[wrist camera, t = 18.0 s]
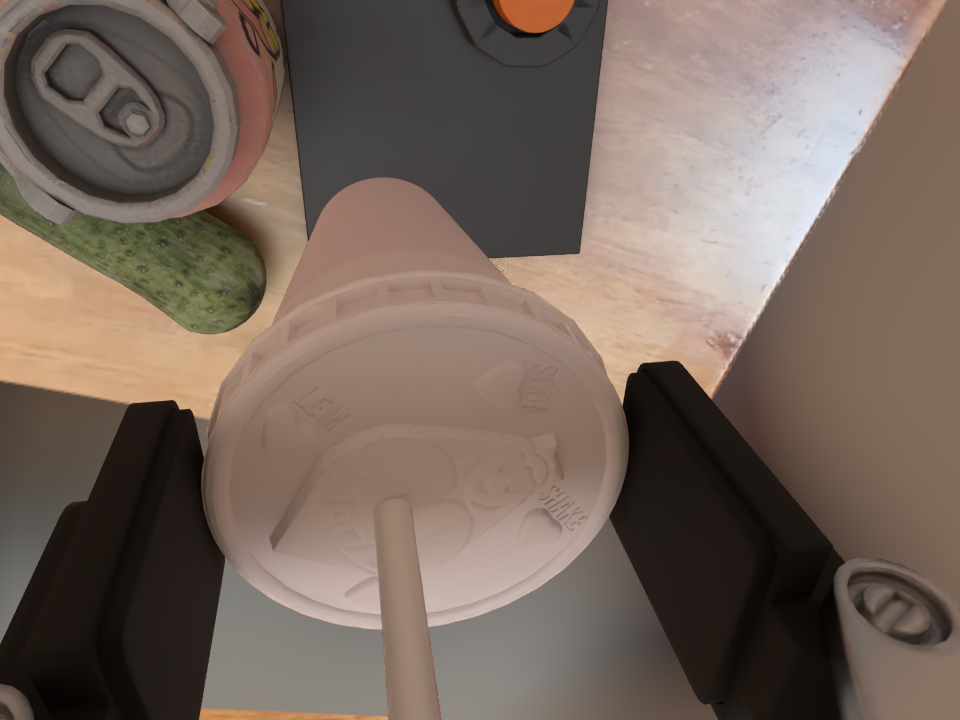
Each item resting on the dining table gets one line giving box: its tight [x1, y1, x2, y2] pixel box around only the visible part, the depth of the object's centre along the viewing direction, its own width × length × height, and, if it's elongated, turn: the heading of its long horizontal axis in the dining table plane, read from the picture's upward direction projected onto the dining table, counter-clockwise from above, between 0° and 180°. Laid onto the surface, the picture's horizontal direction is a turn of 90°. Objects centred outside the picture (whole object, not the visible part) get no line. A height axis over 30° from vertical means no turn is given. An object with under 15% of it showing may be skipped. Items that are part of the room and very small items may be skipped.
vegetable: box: [0, 163, 266, 334], centre depth 29 cm, size 14×5×5 cm, turn 46°
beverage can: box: [0, 0, 285, 225], centre depth 23 cm, size 9×8×12 cm
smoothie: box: [201, 177, 629, 720], centre depth 12 cm, size 6×6×14 cm
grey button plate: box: [281, 0, 608, 258], centre depth 30 cm, size 16×14×3 cm
